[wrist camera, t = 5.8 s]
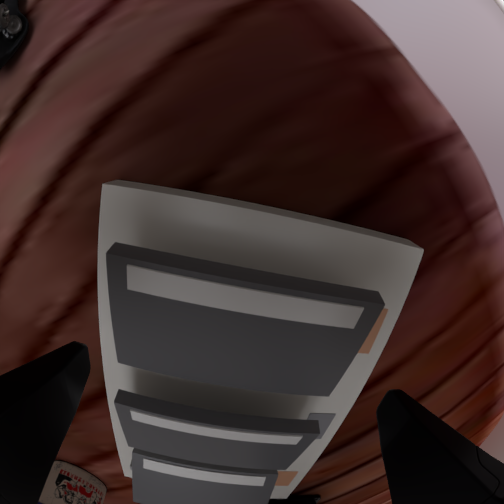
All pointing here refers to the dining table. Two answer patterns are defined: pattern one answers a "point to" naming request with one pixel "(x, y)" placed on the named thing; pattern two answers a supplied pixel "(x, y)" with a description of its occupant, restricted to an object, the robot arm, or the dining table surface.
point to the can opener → (11, 29)
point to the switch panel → (260, 258)
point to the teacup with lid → (71, 486)
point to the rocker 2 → (212, 433)
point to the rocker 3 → (197, 481)
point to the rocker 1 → (234, 322)
